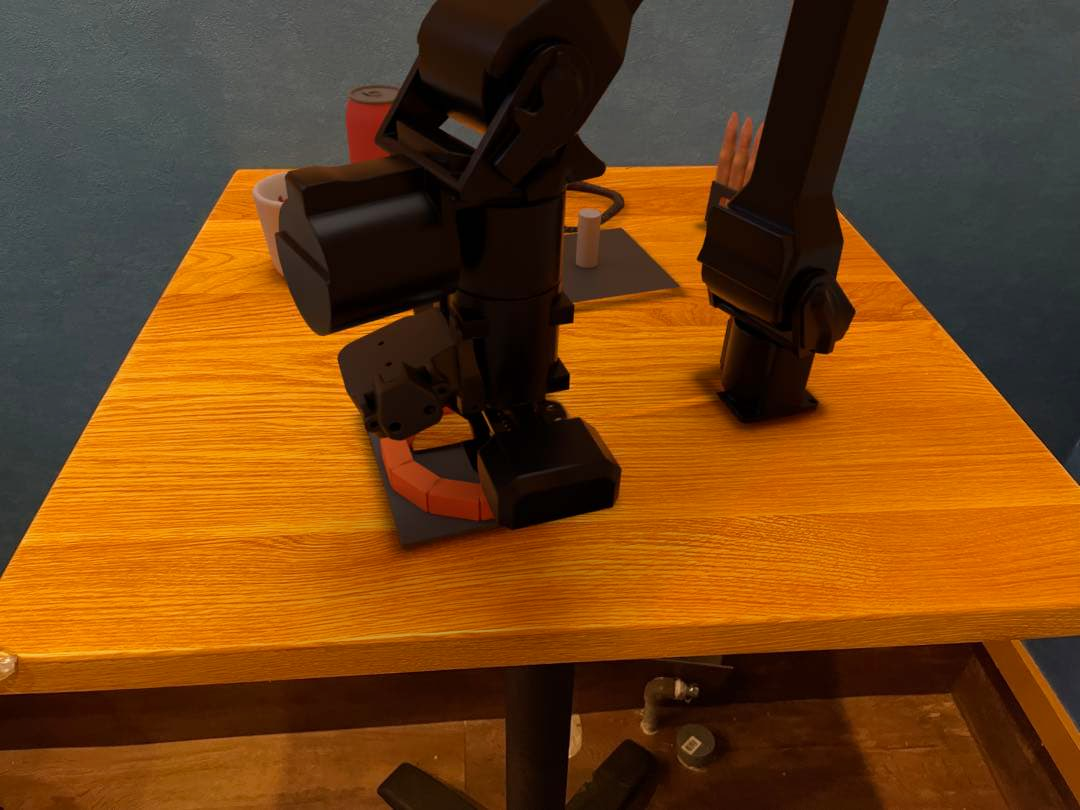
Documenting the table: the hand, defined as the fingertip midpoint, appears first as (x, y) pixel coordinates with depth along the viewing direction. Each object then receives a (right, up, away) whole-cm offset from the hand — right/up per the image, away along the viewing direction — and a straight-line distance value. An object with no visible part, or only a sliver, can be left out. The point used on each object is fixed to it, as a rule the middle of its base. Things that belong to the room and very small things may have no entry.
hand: (503, 502), depth 50 cm
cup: (-18, +19, +26) cm, 37 cm away
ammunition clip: (+23, +22, +33) cm, 46 cm away
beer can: (-14, +27, +37) cm, 47 cm away
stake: (+7, +19, +27) cm, 33 cm away
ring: (-2, +3, +4) cm, 5 cm away
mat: (-2, +2, +4) cm, 5 cm away
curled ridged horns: (+5, +26, +37) cm, 45 cm away
